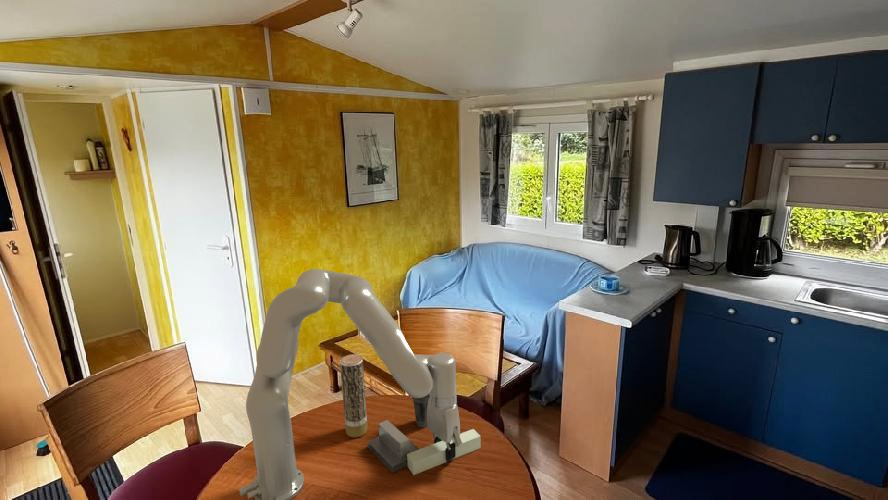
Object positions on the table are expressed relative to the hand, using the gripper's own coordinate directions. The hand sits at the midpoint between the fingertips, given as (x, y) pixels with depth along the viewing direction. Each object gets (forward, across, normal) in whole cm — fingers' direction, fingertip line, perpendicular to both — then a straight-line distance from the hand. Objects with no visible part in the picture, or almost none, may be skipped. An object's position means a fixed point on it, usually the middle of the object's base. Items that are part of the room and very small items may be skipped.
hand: (445, 453), depth 127 cm
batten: (+1, 0, 0) cm, 1 cm away
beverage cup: (+1, -17, +4) cm, 18 cm away
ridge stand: (+1, -11, -10) cm, 15 cm away
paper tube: (+1, -27, -14) cm, 31 cm away
